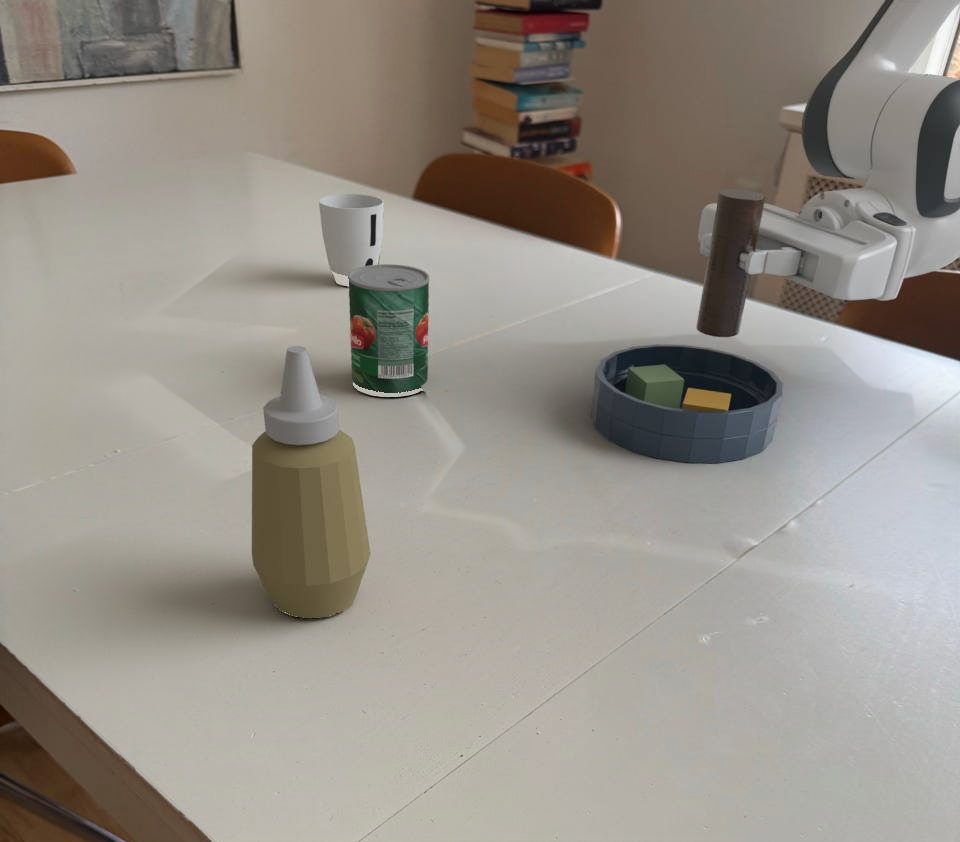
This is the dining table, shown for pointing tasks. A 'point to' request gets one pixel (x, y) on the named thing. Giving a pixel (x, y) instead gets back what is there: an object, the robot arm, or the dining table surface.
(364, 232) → the cup
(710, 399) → the block ochre
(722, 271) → the brown wooden dowel
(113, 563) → the dining table surface
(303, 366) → the squeeze bottle
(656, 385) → the block sage
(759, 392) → the bowl
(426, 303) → the canned tomato
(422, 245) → the dining table surface
